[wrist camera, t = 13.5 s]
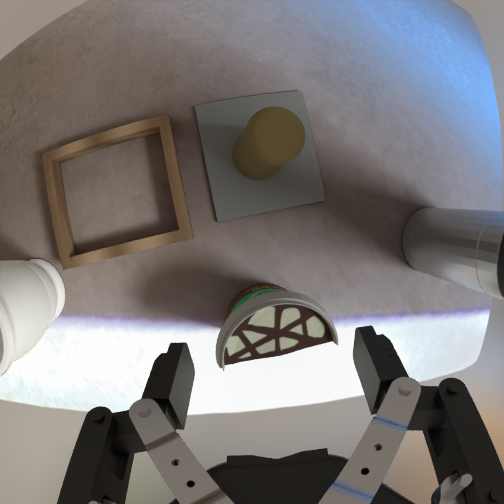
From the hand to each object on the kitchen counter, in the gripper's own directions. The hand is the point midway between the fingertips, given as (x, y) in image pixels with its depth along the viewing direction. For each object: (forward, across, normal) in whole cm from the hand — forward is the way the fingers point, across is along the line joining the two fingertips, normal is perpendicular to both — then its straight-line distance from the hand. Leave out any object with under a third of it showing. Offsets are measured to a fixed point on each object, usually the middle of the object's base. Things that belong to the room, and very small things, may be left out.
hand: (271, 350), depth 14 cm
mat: (+25, -1, -6) cm, 26 cm away
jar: (+17, +29, +5) cm, 34 cm away
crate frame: (+22, +16, -4) cm, 28 cm away
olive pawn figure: (+25, 0, -6) cm, 26 cm away
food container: (+21, +1, +10) cm, 23 cm away
